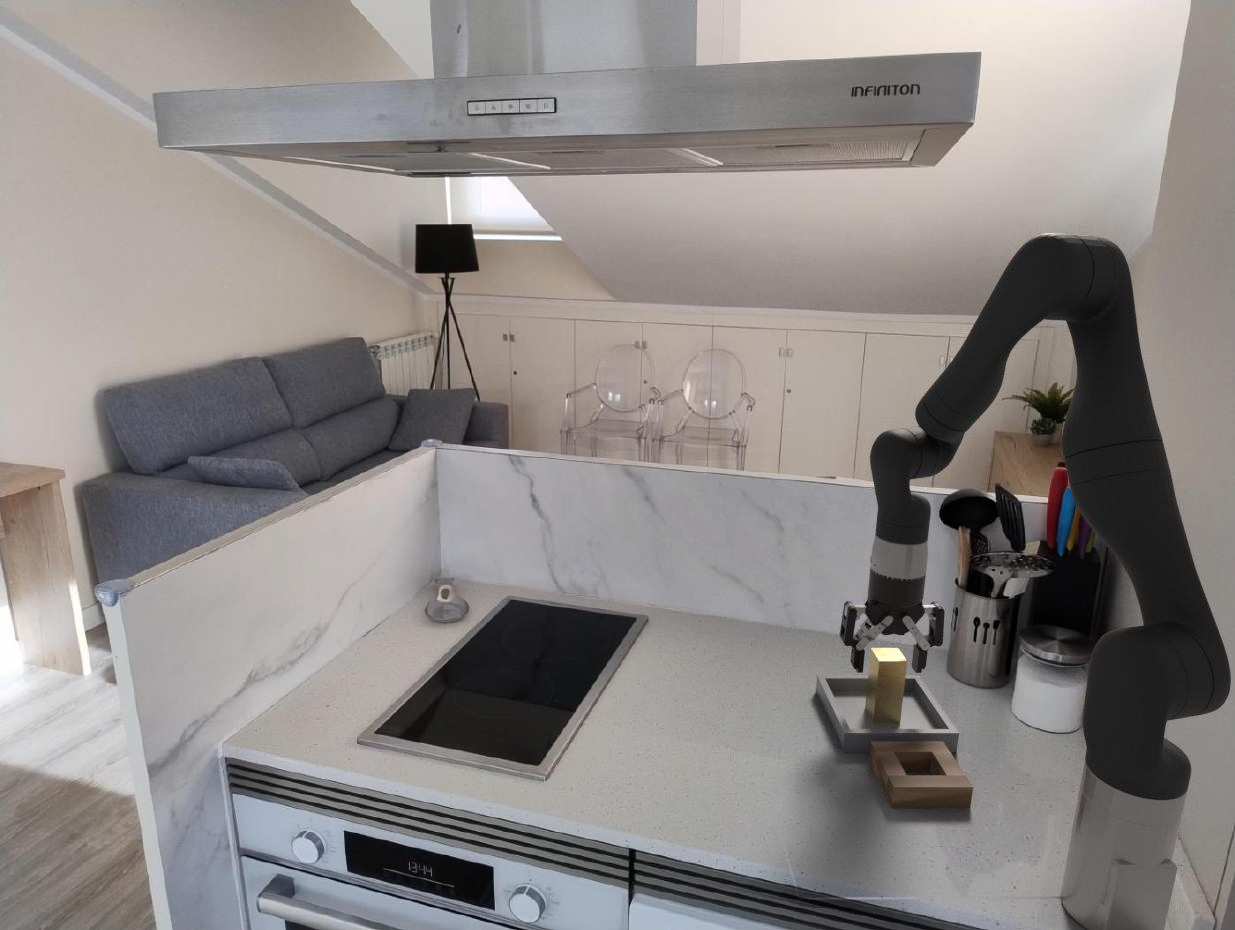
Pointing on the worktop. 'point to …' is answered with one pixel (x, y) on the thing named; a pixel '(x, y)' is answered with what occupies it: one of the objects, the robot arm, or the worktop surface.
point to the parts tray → (856, 728)
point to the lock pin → (885, 685)
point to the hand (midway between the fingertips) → (887, 670)
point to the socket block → (919, 790)
